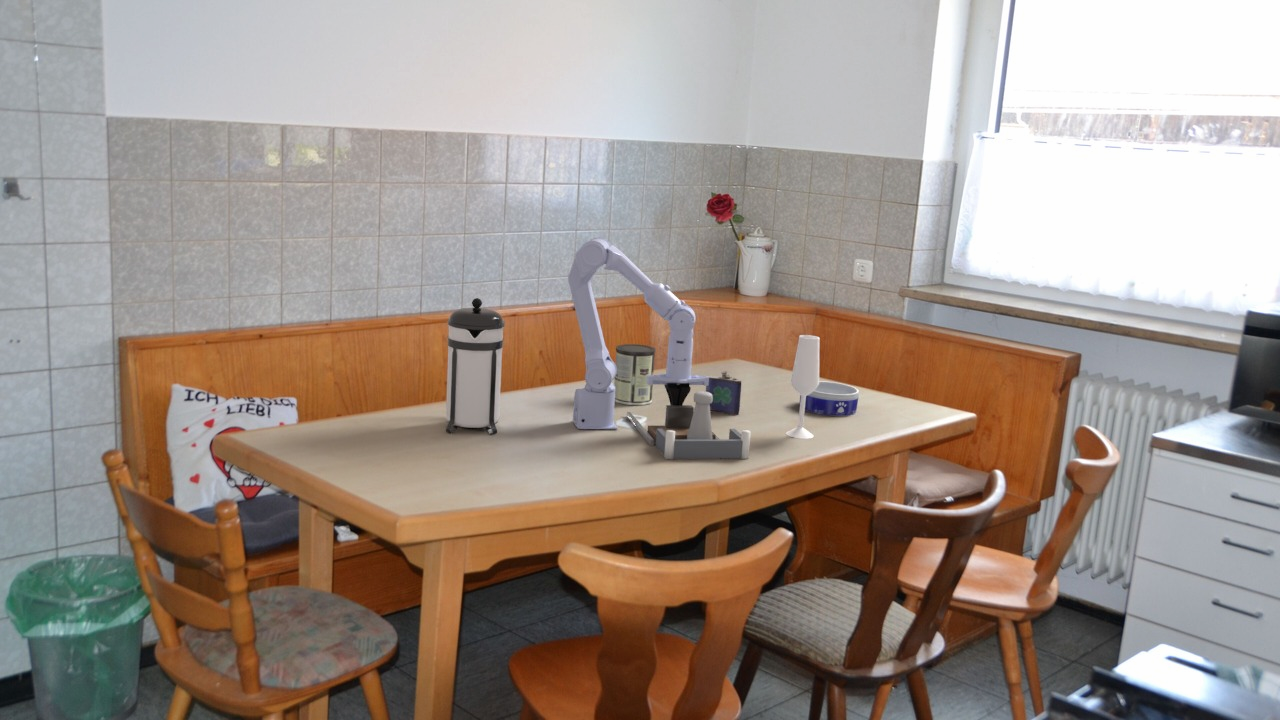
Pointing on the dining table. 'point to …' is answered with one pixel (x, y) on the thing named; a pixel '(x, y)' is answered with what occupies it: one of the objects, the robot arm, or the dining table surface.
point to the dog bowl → (832, 399)
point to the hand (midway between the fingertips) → (675, 414)
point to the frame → (703, 446)
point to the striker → (676, 421)
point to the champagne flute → (805, 377)
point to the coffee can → (634, 374)
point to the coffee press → (474, 368)
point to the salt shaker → (701, 417)
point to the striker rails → (643, 431)
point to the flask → (724, 394)
